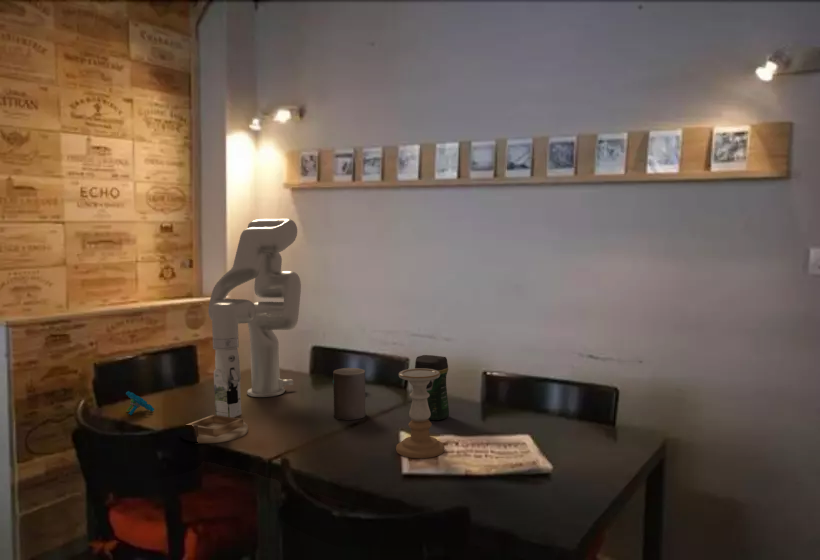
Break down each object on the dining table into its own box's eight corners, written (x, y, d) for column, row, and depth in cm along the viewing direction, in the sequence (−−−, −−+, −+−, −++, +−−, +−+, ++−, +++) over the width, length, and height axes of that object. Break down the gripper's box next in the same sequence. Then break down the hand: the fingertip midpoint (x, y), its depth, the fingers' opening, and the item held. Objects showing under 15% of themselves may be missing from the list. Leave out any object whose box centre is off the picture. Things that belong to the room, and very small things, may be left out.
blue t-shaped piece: (160, 409, 213) (134, 389, 209) (147, 425, 210) (121, 406, 206) (148, 406, 221) (124, 388, 217) (136, 422, 219) (111, 403, 215)
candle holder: (397, 443, 181) (396, 367, 180) (444, 442, 181) (443, 367, 179) (394, 459, 169) (393, 378, 168) (445, 458, 169) (444, 377, 167)
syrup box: (242, 414, 211) (240, 367, 210) (229, 419, 206) (227, 371, 205) (227, 412, 214) (225, 366, 213) (214, 417, 208) (212, 370, 207)
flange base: (212, 421, 205) (212, 407, 204) (261, 428, 196) (260, 413, 196) (166, 438, 188) (165, 423, 188) (217, 446, 180) (216, 431, 180)
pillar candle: (328, 418, 205) (326, 369, 204) (343, 410, 214) (342, 362, 213) (357, 421, 202) (356, 371, 201) (371, 413, 211) (370, 364, 210)
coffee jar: (452, 416, 206) (452, 354, 205) (440, 422, 199) (439, 359, 198) (424, 411, 211) (423, 351, 210) (411, 418, 204) (410, 356, 203)
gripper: (248, 346, 203) (250, 404, 204) (228, 338, 217) (230, 393, 219) (222, 348, 199) (225, 408, 200) (204, 340, 213) (206, 396, 215)
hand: (227, 400), depth 209 cm, fingers closed on syrup box, 7 cm apart
